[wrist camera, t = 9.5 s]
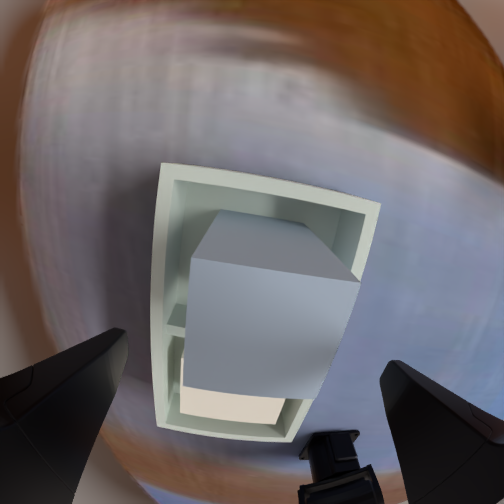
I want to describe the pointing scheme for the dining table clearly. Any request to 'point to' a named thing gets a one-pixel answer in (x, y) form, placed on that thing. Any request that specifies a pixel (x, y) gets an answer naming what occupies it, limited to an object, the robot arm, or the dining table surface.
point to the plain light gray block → (264, 308)
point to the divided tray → (186, 242)
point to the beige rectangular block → (228, 405)
